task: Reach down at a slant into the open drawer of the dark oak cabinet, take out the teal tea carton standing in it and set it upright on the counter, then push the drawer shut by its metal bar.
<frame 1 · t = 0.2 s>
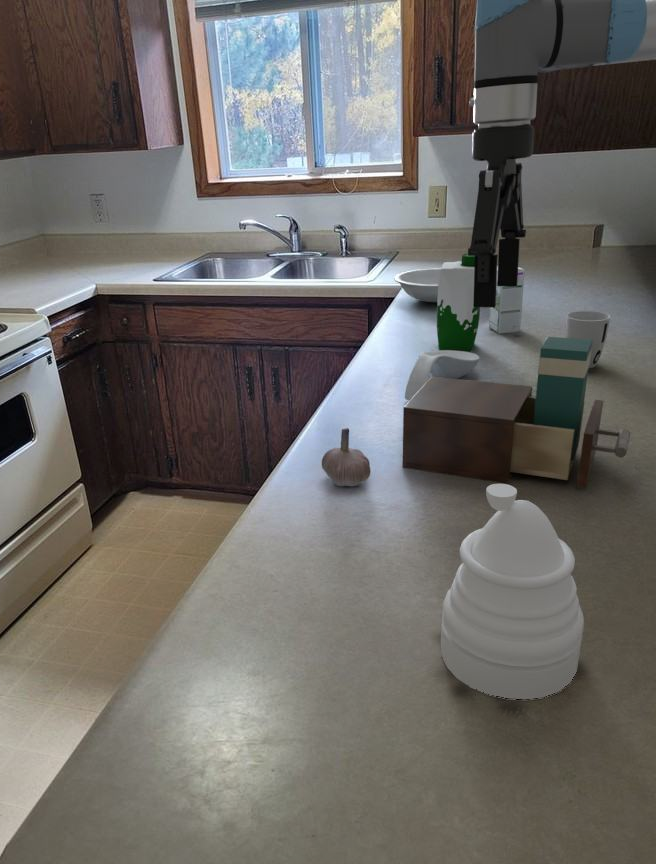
hand: (496, 296, 101), 24 cm above the worktop, tool pointing down, fingers open, 13 cm apart
honey pot: (507, 655, 72), on the worktop
spoon rest: (438, 384, 143), on the worktop
cabinet: (465, 455, 113), on the worktop
milk carton: (456, 348, 164), on the worktop
soup bowl: (437, 301, 205), on the worktop
syrup box: (504, 330, 175), on the worktop
cup: (581, 365, 149), on the worktop
drawer: (557, 437, 106), point 5 cm above the worktop, slide at 9.0 cm, touching tea carton
garlic bulb: (346, 480, 108), on the worktop
tea carton: (554, 449, 109), point 2 cm above the worktop, touching drawer
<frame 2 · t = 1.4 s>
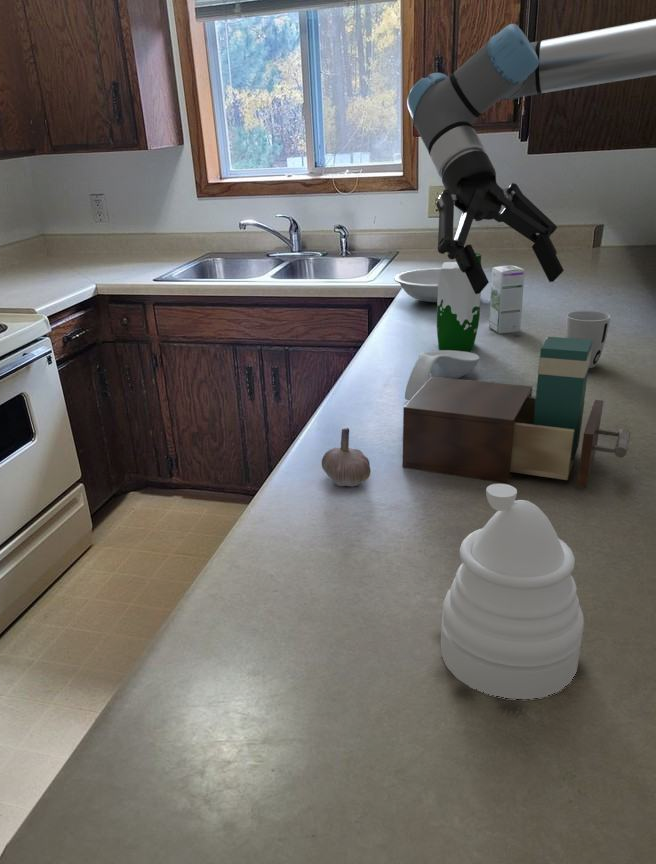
hand: (520, 282, 107), 25 cm above the worktop, tool tilted 45°, fingers open, 13 cm apart
nothing on the worktop moved.
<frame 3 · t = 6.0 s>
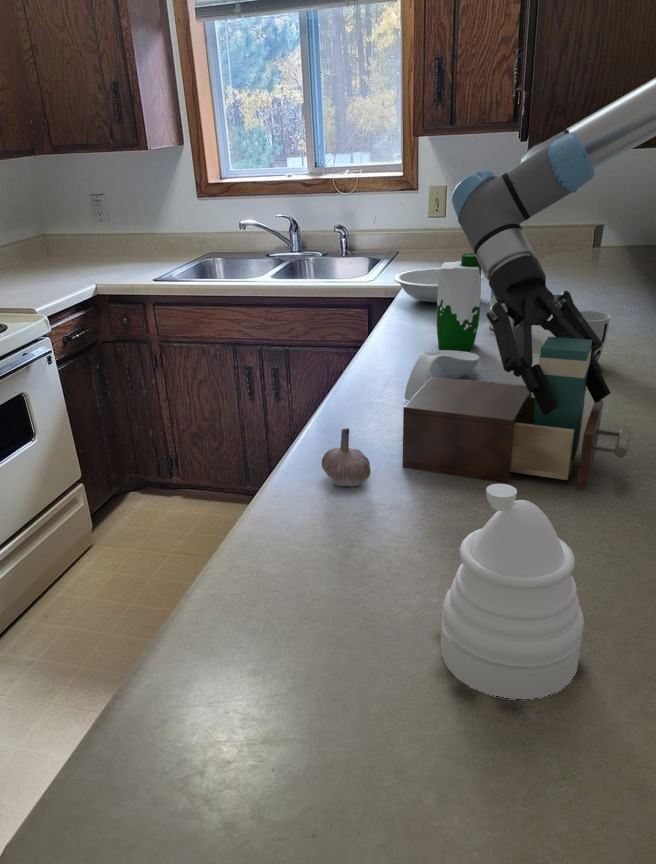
hand: (577, 403, 102), 10 cm above the worktop, tool tilted 45°, fingers closed on tea carton, 9 cm apart
tea carton: (554, 449, 109), point 2 cm above the worktop, touching drawer, gripper
everything else where it was.
when the fingers open (8 cm above the worktop, at t = 15.1 s): tea carton stays where it is, on the worktop.
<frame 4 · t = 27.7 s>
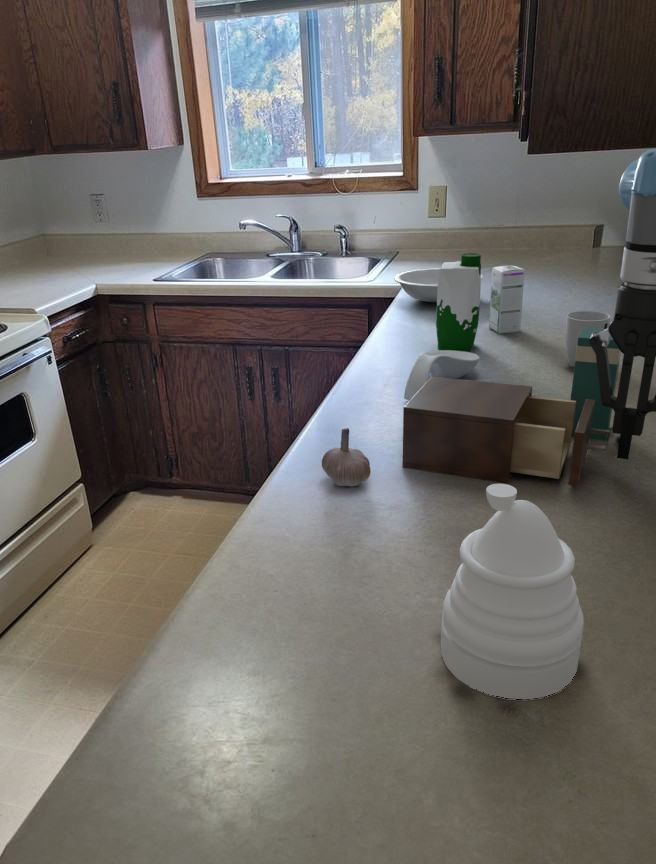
hand: (623, 454, 103), 3 cm above the worktop, tool pointing down, fingers closed
drawer: (548, 436, 106), point 5 cm above the worktop, slide at 7.9 cm, touching gripper
tea carton: (588, 430, 119), on the worktop
everything else where it was.
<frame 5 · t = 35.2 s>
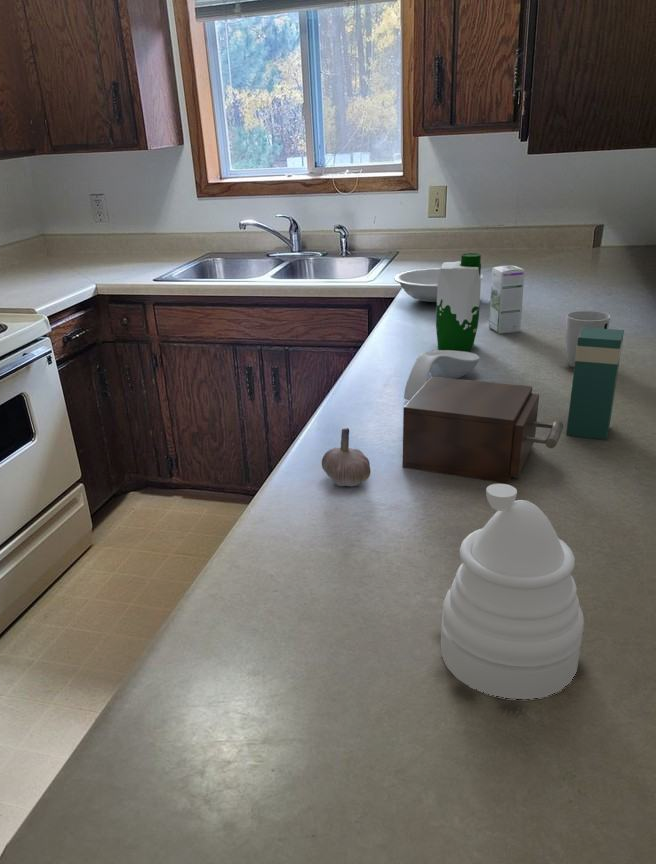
drawer: (493, 429, 109), point 5 cm above the worktop, slide at 0.0 cm, touching cabinet
everything else where it was.
at the end: tea carton inside the target area (0.1 cm from its centre), on the worktop; tea carton tilted 0°; drawer slide at 0.0 cm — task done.
